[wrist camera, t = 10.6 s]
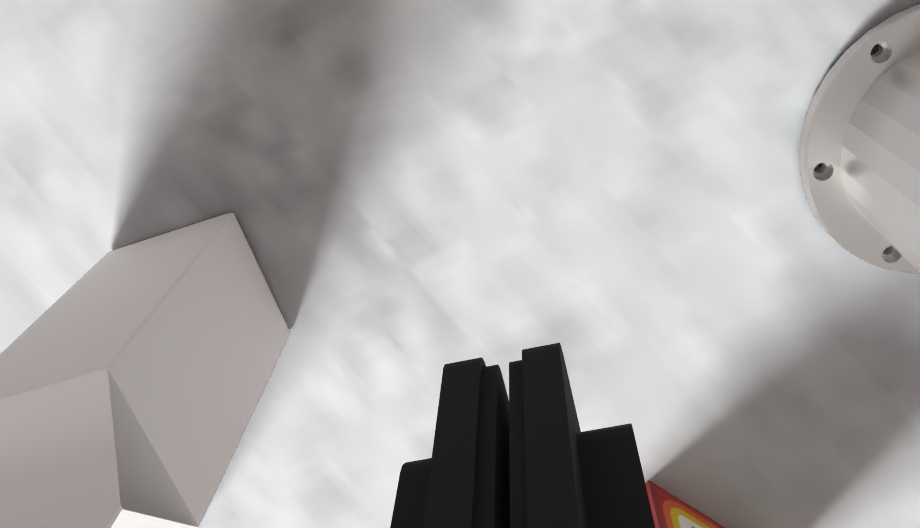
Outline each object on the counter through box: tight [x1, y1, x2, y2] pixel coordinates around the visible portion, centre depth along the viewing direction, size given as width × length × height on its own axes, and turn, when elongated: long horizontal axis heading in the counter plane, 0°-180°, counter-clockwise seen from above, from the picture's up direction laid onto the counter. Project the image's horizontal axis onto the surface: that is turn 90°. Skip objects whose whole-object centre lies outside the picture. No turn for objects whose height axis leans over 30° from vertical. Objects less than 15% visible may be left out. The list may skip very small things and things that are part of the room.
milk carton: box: [0, 213, 290, 528], centre depth 36 cm, size 7×7×19 cm
